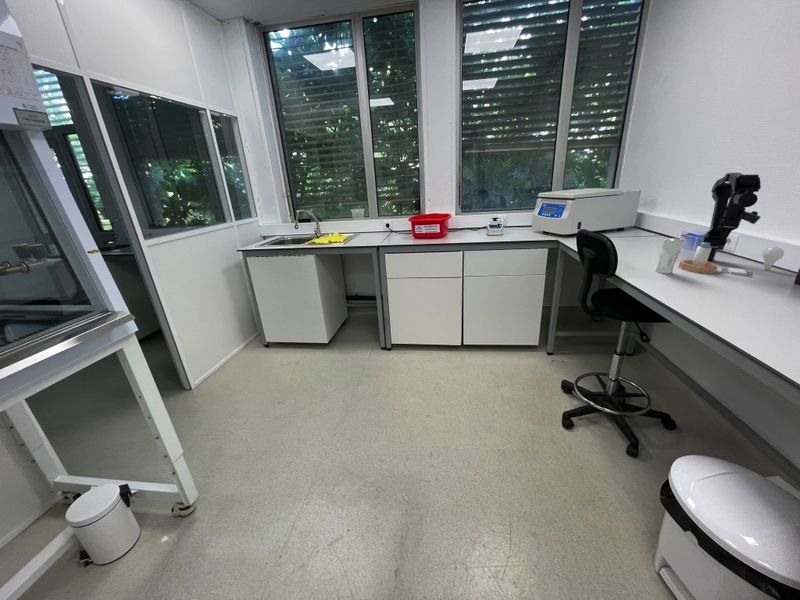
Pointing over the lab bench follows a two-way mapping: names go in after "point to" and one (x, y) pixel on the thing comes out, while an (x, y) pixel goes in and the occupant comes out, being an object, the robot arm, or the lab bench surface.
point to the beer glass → (669, 255)
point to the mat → (724, 270)
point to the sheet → (737, 271)
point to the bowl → (698, 267)
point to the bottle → (702, 254)
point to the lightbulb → (771, 257)
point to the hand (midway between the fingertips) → (723, 240)
